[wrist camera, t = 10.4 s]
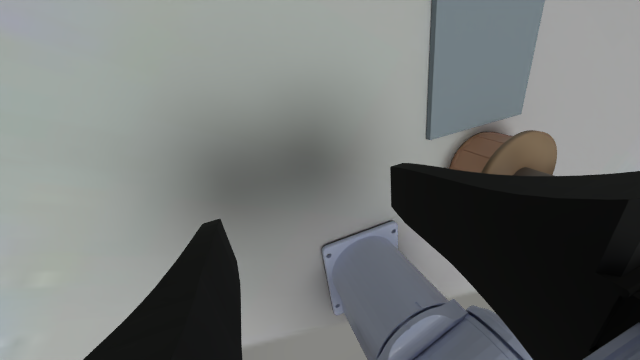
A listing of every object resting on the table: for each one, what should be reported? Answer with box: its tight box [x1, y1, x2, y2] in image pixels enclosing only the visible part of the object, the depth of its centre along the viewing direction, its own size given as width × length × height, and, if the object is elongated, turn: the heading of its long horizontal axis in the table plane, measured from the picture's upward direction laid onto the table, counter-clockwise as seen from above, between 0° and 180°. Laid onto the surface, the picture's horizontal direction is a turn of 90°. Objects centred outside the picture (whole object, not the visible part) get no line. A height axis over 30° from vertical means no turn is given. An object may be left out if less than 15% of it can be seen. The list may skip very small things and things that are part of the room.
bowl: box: [449, 132, 513, 173], centre depth 25 cm, size 7×7×4 cm
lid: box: [481, 130, 557, 176], centre depth 21 cm, size 9×9×5 cm
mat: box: [426, 0, 545, 140], centre depth 21 cm, size 11×11×1 cm
